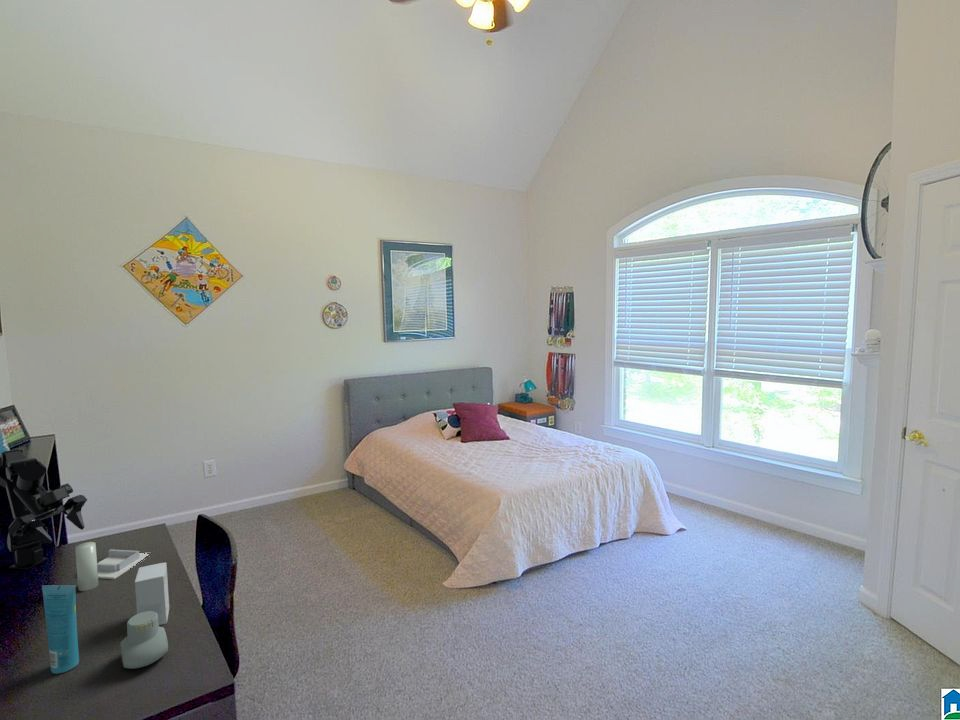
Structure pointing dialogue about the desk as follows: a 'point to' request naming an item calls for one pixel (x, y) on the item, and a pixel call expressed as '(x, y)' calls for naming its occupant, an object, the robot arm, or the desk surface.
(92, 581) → the domed peg
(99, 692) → the desk surface
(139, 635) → the air freshener
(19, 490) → the robot arm
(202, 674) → the desk surface
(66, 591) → the tube
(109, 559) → the white railed tray
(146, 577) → the small box
